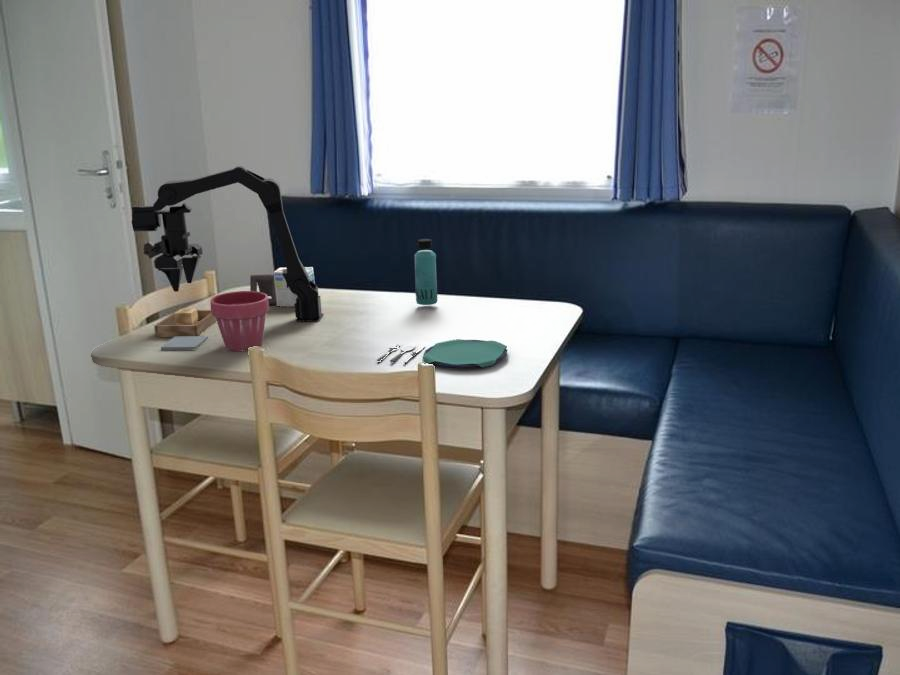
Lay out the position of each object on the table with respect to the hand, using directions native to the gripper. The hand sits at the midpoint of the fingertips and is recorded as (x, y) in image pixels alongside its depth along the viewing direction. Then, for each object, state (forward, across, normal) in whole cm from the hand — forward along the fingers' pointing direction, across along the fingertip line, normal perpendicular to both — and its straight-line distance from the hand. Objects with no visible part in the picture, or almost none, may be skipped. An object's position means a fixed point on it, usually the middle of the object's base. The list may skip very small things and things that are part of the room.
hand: (183, 287), depth 222 cm
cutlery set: (+12, +24, +73) cm, 78 cm away
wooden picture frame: (+12, 0, 0) cm, 12 cm away
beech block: (+12, 0, 0) cm, 12 cm away
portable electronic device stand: (+12, -26, +14) cm, 32 cm away
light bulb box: (+12, -24, +24) cm, 36 cm away
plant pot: (+12, +16, +21) cm, 29 cm away
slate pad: (+12, +14, +5) cm, 19 cm away
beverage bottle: (+12, -19, +64) cm, 68 cm away
